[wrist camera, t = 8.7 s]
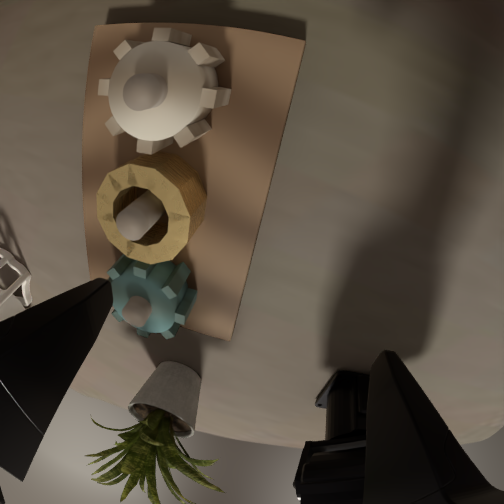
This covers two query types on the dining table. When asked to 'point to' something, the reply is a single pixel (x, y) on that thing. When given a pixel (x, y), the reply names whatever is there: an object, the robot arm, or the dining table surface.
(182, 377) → the house plant
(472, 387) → the dining table surface
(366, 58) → the dining table surface
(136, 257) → the hollow tan sleeve
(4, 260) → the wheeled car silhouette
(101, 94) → the gear board
